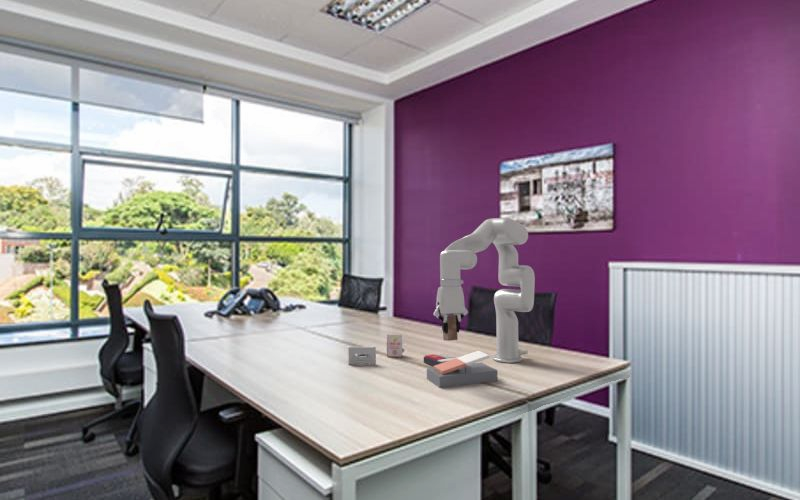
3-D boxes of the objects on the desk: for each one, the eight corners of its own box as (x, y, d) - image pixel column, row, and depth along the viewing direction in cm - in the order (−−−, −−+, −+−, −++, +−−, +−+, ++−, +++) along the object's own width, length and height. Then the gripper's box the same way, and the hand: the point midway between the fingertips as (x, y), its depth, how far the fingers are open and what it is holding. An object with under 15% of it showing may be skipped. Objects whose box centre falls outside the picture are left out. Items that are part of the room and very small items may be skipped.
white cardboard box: (388, 355, 213) (388, 333, 213) (402, 355, 213) (402, 334, 212) (387, 356, 210) (386, 335, 210) (401, 357, 209) (401, 335, 209)
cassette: (348, 365, 196) (348, 347, 196) (349, 364, 198) (348, 346, 198) (375, 365, 195) (375, 347, 195) (376, 364, 197) (376, 346, 197)
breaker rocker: (479, 355, 180) (478, 350, 180) (490, 360, 172) (489, 355, 172) (434, 370, 173) (433, 365, 173) (443, 376, 165) (442, 371, 165)
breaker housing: (481, 372, 182) (481, 357, 182) (497, 380, 171) (497, 364, 171) (426, 378, 174) (426, 362, 174) (439, 387, 163) (439, 370, 163)
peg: (453, 339, 172) (451, 315, 174) (457, 339, 169) (455, 315, 170) (443, 340, 171) (441, 316, 172) (447, 340, 167) (446, 316, 169)
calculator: (444, 352, 204) (463, 357, 191) (444, 361, 204) (463, 367, 190) (423, 355, 199) (441, 360, 185) (423, 364, 199) (441, 371, 185)
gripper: (466, 282, 175) (466, 329, 176) (426, 283, 170) (426, 332, 170) (475, 283, 168) (475, 332, 168) (433, 285, 163) (434, 335, 163)
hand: (451, 331), depth 169 cm, fingers closed on peg, 4 cm apart
